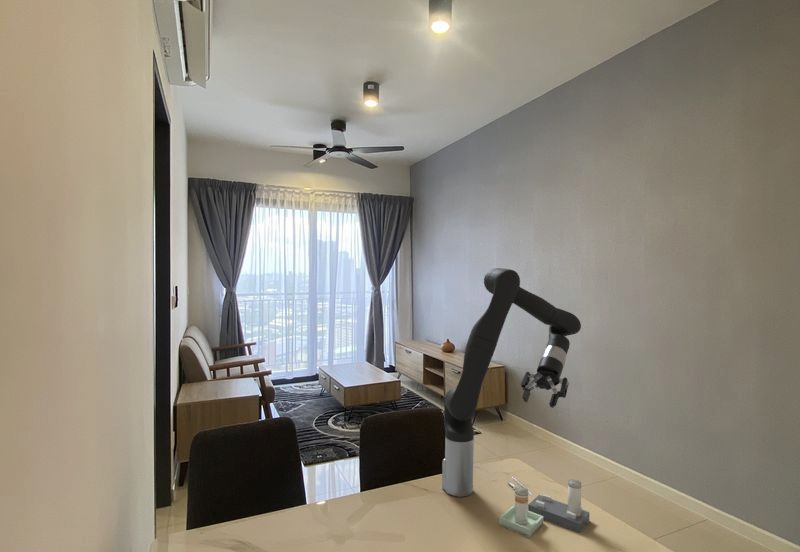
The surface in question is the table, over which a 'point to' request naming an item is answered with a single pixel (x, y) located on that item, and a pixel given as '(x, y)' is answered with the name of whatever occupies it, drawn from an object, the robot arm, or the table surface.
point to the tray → (527, 530)
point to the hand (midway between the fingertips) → (537, 403)
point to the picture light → (518, 483)
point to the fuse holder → (558, 513)
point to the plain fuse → (574, 497)
